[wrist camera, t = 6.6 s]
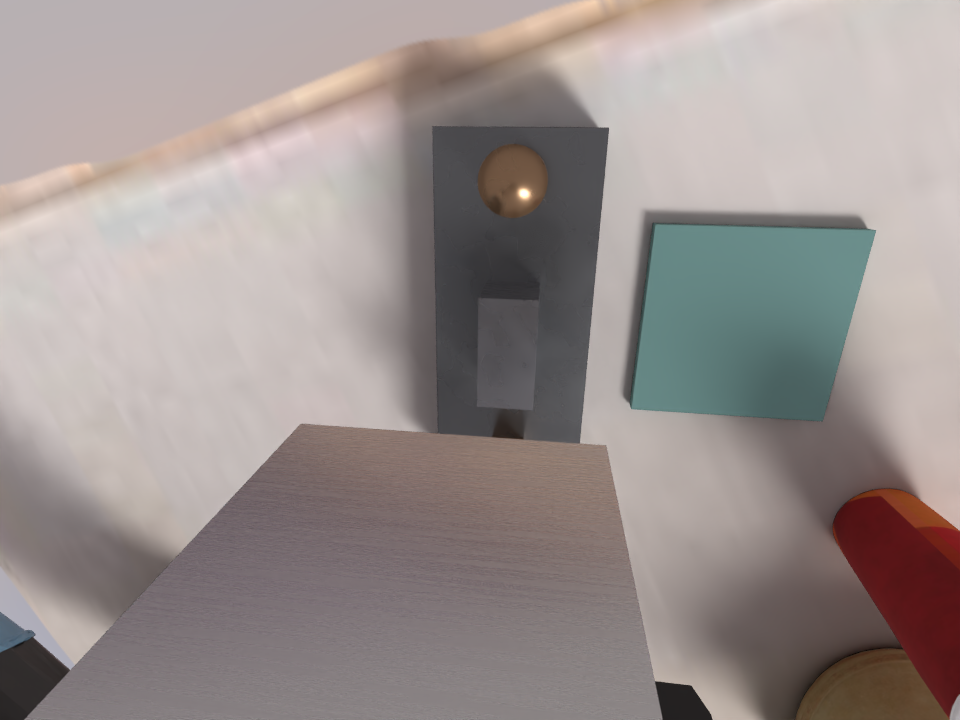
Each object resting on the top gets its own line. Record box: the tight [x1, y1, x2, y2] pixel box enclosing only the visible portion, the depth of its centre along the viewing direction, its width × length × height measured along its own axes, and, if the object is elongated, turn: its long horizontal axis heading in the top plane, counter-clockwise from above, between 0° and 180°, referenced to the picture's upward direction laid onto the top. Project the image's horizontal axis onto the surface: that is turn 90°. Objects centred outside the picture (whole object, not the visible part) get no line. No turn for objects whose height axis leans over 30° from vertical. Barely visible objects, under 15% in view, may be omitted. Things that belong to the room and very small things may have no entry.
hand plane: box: [432, 126, 609, 444], centre depth 30 cm, size 9×22×10 cm, turn 0°
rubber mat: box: [630, 223, 876, 421], centre depth 32 cm, size 12×12×1 cm
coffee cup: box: [833, 489, 960, 720], centre depth 30 cm, size 8×8×15 cm
